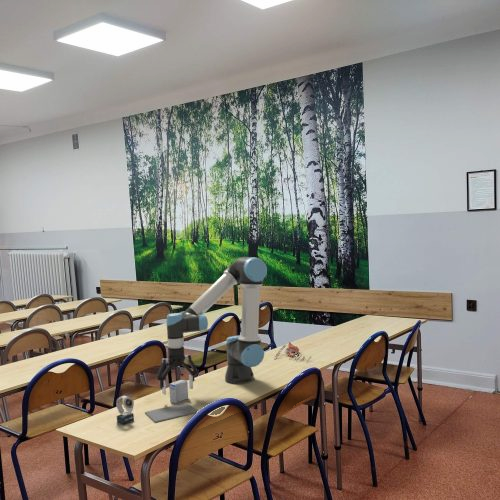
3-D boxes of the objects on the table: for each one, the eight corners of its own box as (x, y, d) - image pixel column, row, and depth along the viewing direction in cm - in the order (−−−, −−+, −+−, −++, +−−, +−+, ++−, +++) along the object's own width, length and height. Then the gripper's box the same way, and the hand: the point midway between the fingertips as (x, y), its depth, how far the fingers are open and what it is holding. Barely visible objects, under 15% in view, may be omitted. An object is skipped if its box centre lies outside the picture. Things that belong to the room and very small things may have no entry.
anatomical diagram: (284, 340, 329) (318, 342, 313) (289, 352, 332) (323, 355, 316) (267, 360, 315) (302, 364, 299) (272, 372, 318) (307, 376, 302)
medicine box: (182, 397, 253) (181, 379, 253) (188, 398, 250) (187, 380, 250) (169, 401, 247) (168, 383, 247) (176, 403, 244) (175, 385, 244)
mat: (186, 403, 243) (186, 402, 243) (199, 412, 231) (198, 411, 231) (144, 413, 234) (144, 412, 234) (155, 422, 221) (155, 421, 221)
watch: (127, 425, 220) (125, 399, 219) (114, 422, 224) (112, 397, 224) (137, 421, 224) (135, 395, 224) (124, 418, 229) (122, 393, 228)
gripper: (197, 341, 257) (199, 384, 258) (147, 348, 245) (149, 394, 246) (203, 344, 250) (205, 388, 251) (152, 351, 238) (155, 398, 239)
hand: (177, 391), depth 248 cm, fingers open, 13 cm apart
